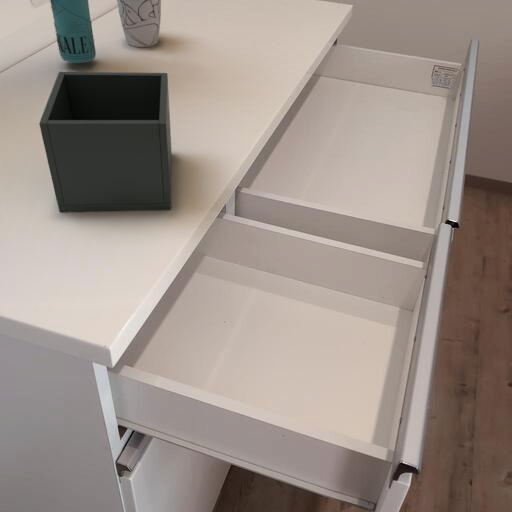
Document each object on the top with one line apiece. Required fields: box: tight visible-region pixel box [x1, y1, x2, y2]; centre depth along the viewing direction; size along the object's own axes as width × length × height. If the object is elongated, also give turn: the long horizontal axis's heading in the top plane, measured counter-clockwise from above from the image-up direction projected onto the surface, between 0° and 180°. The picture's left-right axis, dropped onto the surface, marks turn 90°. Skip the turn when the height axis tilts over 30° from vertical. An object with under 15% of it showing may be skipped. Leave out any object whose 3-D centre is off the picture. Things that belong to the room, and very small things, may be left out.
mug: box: [116, 0, 162, 48], centre depth 107 cm, size 11×8×10 cm
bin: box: [39, 71, 173, 213], centre depth 69 cm, size 14×14×12 cm
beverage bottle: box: [49, 0, 97, 64], centre depth 93 cm, size 6×7×20 cm
